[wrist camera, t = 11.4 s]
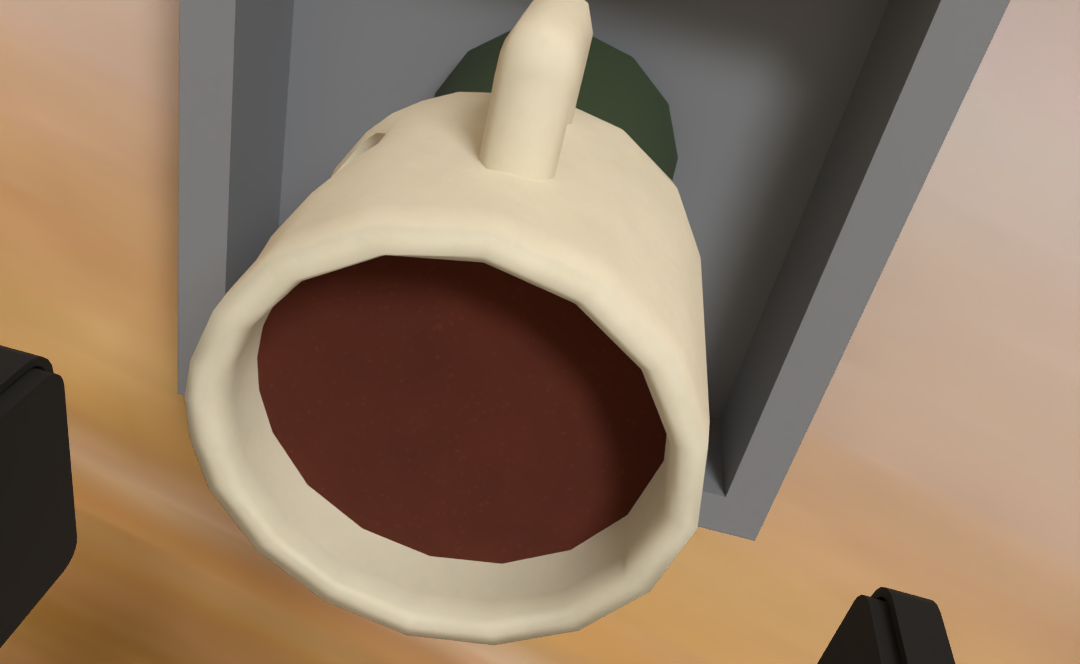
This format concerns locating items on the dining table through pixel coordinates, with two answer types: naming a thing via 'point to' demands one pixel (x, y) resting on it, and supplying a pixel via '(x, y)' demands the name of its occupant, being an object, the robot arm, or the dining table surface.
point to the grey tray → (700, 176)
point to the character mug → (474, 354)
